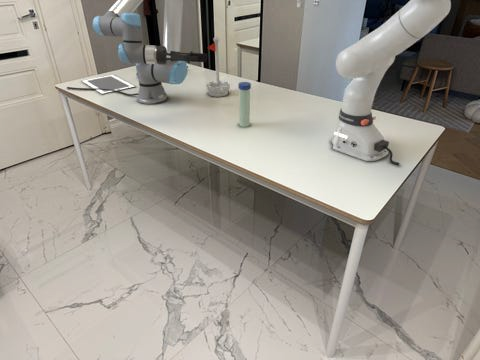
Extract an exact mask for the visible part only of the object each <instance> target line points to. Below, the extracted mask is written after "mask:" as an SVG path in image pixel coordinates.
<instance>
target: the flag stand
mask: <svg viewBox="0 0 480 360" xmlns="http://www.w3.org/2000/svg"><path fill="white" fill-rule="evenodd" d="M219 42H220V38H219V37H218V36H214V37H213V43H212V44H211V45H209V46H208V47H207V49H208V50H211V51H213V52H214V53H215V74H216V75H215V76H216V82H214V81H213V80H211V81H208V82H207V83H206V84H205V85H206V87H205V88H206V90H207V91H208V95H209V96H211V97H216V98H217V97H225V96H227V95H228V94H229V90H230V88H231V83H230V82H228V81H227V80H224V81H223V82H222V80H220V64H219V63H220V61H219Z"/></svg>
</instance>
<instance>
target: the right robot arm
mask: <svg viewBox="0 0 480 360" xmlns="http://www.w3.org/2000/svg"><path fill="white" fill-rule="evenodd" d="M295 1H296V8H303V6H304V2H303V1H302V0H295ZM320 3H321V0H314V1H313V6H315V7H319V6H320ZM451 8H452V2H451V0H409V1H408V2H407V3H406V4H405V5H403V6H402V7H401V8H400V9H399V10H398V11H396V12H395V13H394V14H393V15H391V16H390V17H389V18H388V20H386V21H385V22H383V24H381V25H380V26H378V27H377V28H375V29H374V30H373V31H371V32H370V33H368V34H366V35H364V36H363V37H361V38H360V39H359V40H358V41H356V42H355V43H353V44H352V45H350V46H348V47H347V48H345V49H343V50H342V51H340V52H339V53H338V54H337V56H336V59H335V69H336V73H337V74H338V75H339V77H341V78H344V79H351V81H350V83H348V85H347V86H346V87H345V89H344V91H343V98H342V103H341V108H340V109H339V113H338V122H337V123H338V124H337V127H336V130H335V131H334V132H333V133H334V135H333V137H332V139H331V144H332V149H333V150H334V151H336V152H340V153H343V154H344V155H345V154H346V155H348V156H351V157H354V158H356V159H359V160H361V161H365V162H374V161H379V160H381V159H383V158H385V157H387V155H388V154H389V162H390V164H393V165H397V166H399V165H400V162H397V161H394V160H393V155H394V154H393V152H392V150H391V149H390V148H389V145H390V141H388V140H385V138H384V135H383V134H382V133H381V131H379V128H377V126H376V125H375V124H374V121H375V120H376V119H377V116H373V113H372V109H373V104H374V101H375V96H376V93H377V91H378V88H379V86H380V84H381V81H382V80H383V78H384V76H385V75H386V72H387V71H388V69H389V68H390V67H391V66H392V65H393V64H394V62H395V60H396V56H398V55H400V54H402V53H403V52H404V51H406V50H407V49H408V48H410V47H411V46H413V45H414V44H416V42H418V41H420V40H421V39H422V38H424V37H425V36H426V35H428V34H429V33H430V32H431V31H432V30H434V29H435V28H436V27H437V26H438V25H439V24H440V23H441V22H442V21H444V19H445V18H446V17H447V16H448V15H449V13H450V11H451Z"/></svg>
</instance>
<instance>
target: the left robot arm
mask: <svg viewBox="0 0 480 360" xmlns="http://www.w3.org/2000/svg"><path fill="white" fill-rule="evenodd" d="M143 1H144V0H116V2H115V3H114V4H113V5H112V6H111V7H110V8H109V9H108V10H107V11H106V12H105V14H104V15H97V16H95V17H94V18H93V20H92V28H93V30H94V31H95V33H96V34H97V35H100V36H104V37H117V38H122V41H123V43H120V44H119V45H118V50H117V52H118V53H117V54H118V58H119V60H120V62H122V63H125V64H135V68H136V73H137V75H138V76H137V75H136V76H137V79H138V86H139V87H138V92H137V93H127V92H123V91H121V90H119V91H116V90H111V89H98V88H91V87H73V86H72V87H71V86H67V87H66V89H70V90H80V91H83V90H84V91H96V90H110V91H114V92H113V93H119V94H121V95H126V96H128V97H129V96H130V97H133V96H137V101H138V102H139V103H140V104H144V105H155V104H160V103H163V102H165V101H167V100H168V96H167V92H166V90H165V88H164V86H163V84H170V85H180V84H182V83H184V82H185V80H186V78H187V75H188V68H187V66H188V64H191V62H194V63H207V61H208V53H202V52H201V53H200V52H193V50H192V51H191V50H190V52H181V50H182V34H183V33H182V32H183V16H184V15H183V13H184V0H164V10H163V11H164V12H163V13H164V14H163V15H164V16H163V37H162V39H163V40H162V45H151V44H143V35H142V34H143V33H142V22H141V15H140V14H139V13H135V11H136V9H137V8H138V7H139V6H140V5H141V4H142V3H143Z"/></svg>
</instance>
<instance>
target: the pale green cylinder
mask: <svg viewBox="0 0 480 360" xmlns="http://www.w3.org/2000/svg"><path fill="white" fill-rule="evenodd" d="M238 91H239V92H238V93H239V94H238V95H239V96H238V97H239V98H238V103H239V106H238V107H239V108H238V109H239V113H238V115H239V119H238V120H239V121H238V122H239V123H238V124H239V125H238V126H239V127H242V128H247V127H249V126H250V121H251V119H250V115H251V114H250V113H251V111H250V110H251V109H250V108H251V105H250V104H251V89H248V90H241V89H239V88H238Z"/></svg>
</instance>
